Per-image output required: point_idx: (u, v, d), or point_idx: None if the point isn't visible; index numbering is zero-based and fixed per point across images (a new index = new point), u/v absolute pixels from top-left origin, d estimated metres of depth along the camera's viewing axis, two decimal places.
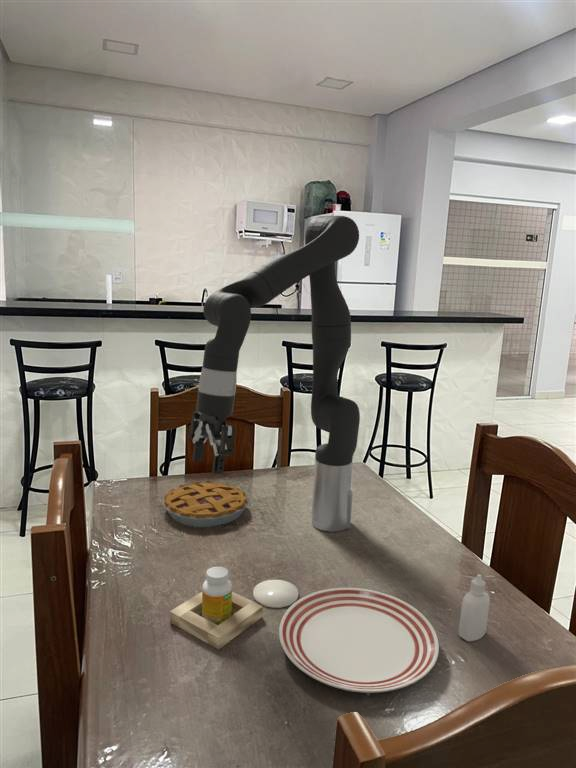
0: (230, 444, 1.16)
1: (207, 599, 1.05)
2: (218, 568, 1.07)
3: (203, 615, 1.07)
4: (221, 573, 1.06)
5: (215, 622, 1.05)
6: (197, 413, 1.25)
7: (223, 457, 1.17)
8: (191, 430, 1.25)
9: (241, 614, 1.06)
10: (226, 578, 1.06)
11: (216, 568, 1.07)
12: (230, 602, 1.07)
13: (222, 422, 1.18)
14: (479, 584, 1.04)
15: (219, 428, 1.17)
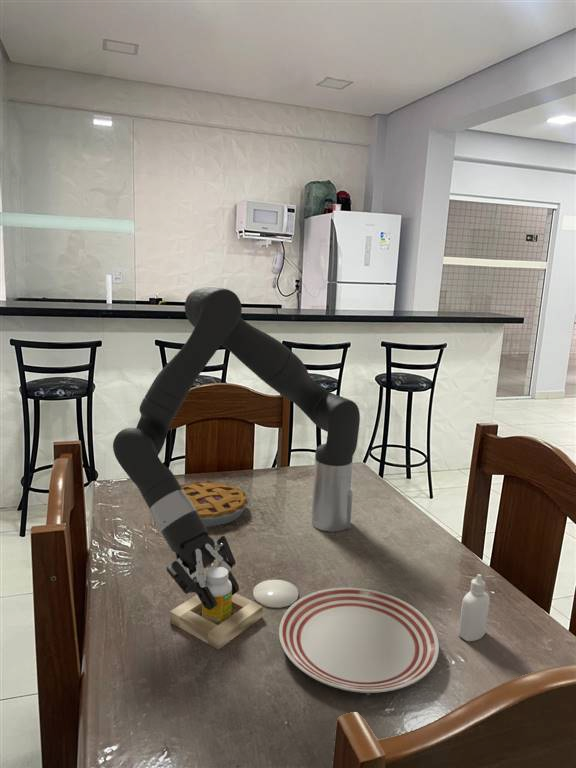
0: None
1: None
2: (218, 568, 1.07)
3: (203, 615, 1.07)
4: (221, 573, 1.06)
5: (215, 622, 1.05)
6: None
7: (200, 591, 1.04)
8: None
9: (241, 614, 1.06)
10: (226, 578, 1.05)
11: (216, 568, 1.07)
12: (230, 602, 1.07)
13: (179, 555, 1.06)
14: (479, 584, 1.04)
15: None
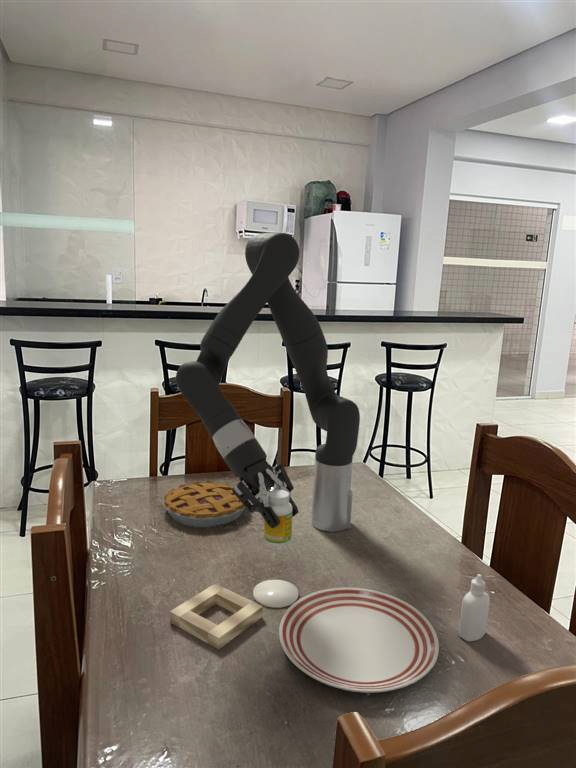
0: None
1: None
2: (279, 491, 1.13)
3: (265, 535, 1.13)
4: (283, 494, 1.12)
5: (278, 540, 1.11)
6: None
7: (264, 511, 1.10)
8: None
9: (241, 614, 1.06)
10: (287, 499, 1.11)
11: (277, 491, 1.13)
12: (291, 522, 1.13)
13: (242, 478, 1.12)
14: (479, 584, 1.04)
15: None
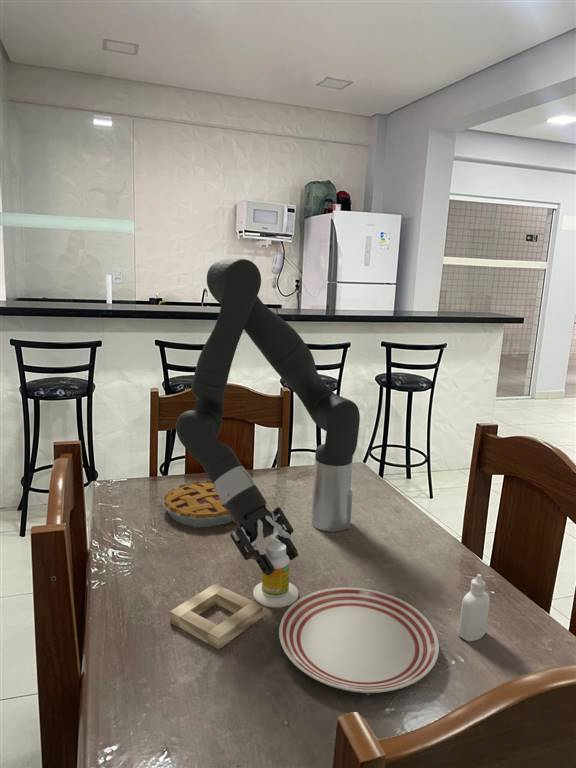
0: None
1: None
2: (276, 543, 1.16)
3: (263, 586, 1.15)
4: (280, 547, 1.15)
5: (275, 592, 1.14)
6: None
7: (258, 558, 1.11)
8: None
9: (241, 614, 1.06)
10: (284, 552, 1.14)
11: (274, 543, 1.16)
12: (288, 574, 1.15)
13: (242, 525, 1.14)
14: (479, 584, 1.04)
15: None
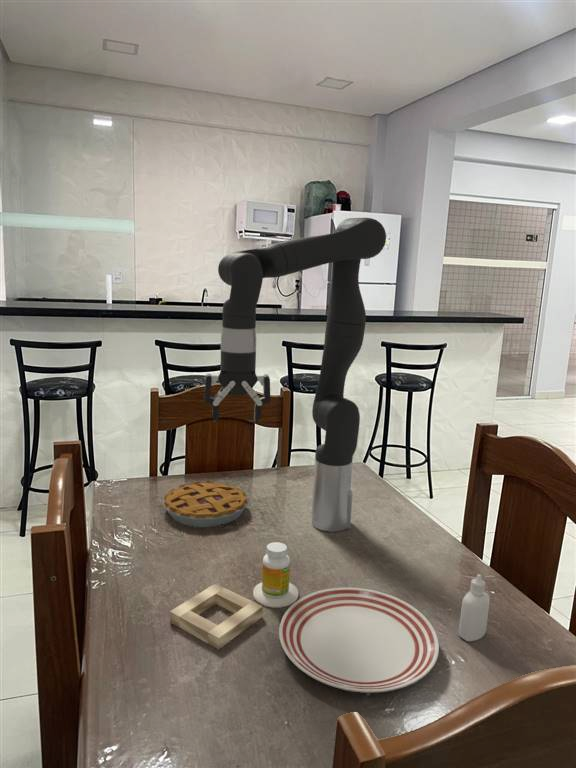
0: None
1: (268, 572, 1.14)
2: (277, 544, 1.16)
3: (263, 587, 1.15)
4: (281, 548, 1.14)
5: (275, 593, 1.14)
6: (263, 376, 1.28)
7: (212, 405, 1.27)
8: None
9: (241, 614, 1.06)
10: (285, 552, 1.14)
11: (275, 543, 1.16)
12: (288, 575, 1.15)
13: None
14: (479, 584, 1.04)
15: None
